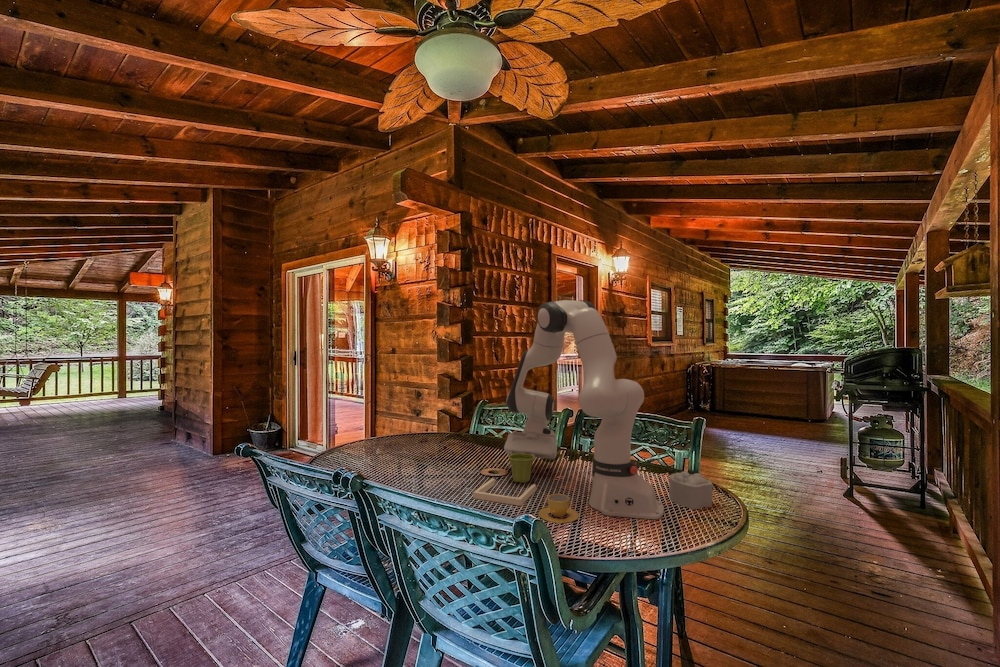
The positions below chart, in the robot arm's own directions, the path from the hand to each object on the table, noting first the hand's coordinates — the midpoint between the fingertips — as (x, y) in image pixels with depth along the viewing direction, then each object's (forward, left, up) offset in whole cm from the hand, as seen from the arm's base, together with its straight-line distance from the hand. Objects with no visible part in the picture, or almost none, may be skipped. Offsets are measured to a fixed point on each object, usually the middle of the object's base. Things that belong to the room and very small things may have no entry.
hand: (525, 465), depth 172 cm
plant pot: (0, +4, -4) cm, 6 cm away
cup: (-21, +29, -5) cm, 36 cm away
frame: (0, +19, -4) cm, 20 cm away
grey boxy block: (-56, +2, -5) cm, 56 cm away
